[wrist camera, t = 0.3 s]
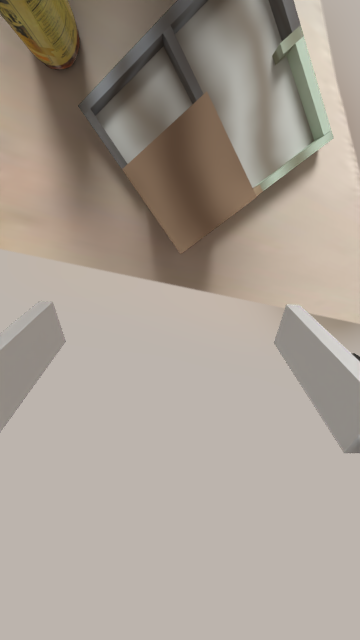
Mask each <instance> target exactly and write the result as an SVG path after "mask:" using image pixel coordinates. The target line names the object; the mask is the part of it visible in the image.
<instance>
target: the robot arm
mask: <svg viewBox="0 0 360 640" xmlns="http://www.w3.org/2000/svg"><path fill="white" fill-rule="evenodd" d="M65 342H66V341H65V338H64V335H63V332H62V328H61V326H60V323H59V320H58V316H57V313H56V310H55V307H54V304H53V302H38V303H37V304H36V305H34V306H33V307H32V308H30V309H29V310H28V311H27V312H26V313H24V314H23V315H22V316H21V317H20V318H18V319H17V320H16V321H15V322H14V323H12V324H11V325H10V326H9V327H7V328H6V329H5V330H4V331H3V332H1V333H0V432H1V430H2V429H3V428H4V426H5V425H6V424H7V422H8V421H9V419H10V418H11V417H12V415H13V414H14V413H15V411H16V410H17V408H18V407H19V406H20V404H21V403H22V402H23V400H24V399H25V397H26V396H27V394H28V393H29V392H30V390H31V389H32V388H33V386H34V385H35V383H36V382H37V380H38V379H39V378H40V376H41V375H42V374H43V372H44V371H45V370H46V368H47V367H48V365H49V364H50V363H51V361H52V360H53V358H54V357H55V355H56V354H57V353H58V352H59V350H60V349H61V347H62V346H63V345H64V343H65ZM274 344H275V345H276V347H277V348H278V350H279V352H280V353H281V355H282V356H283V358H284V360H285V361H286V363H287V364H288V366H289V367H290V369H291V371H292V372H293V374H294V375H295V377H296V378H297V380H298V381H299V383H300V385H301V386H302V388H303V389H304V391H305V393H306V394H307V396H308V397H309V399H310V400H311V402H312V403H313V405H314V407H315V408H316V410H317V411H318V413H319V414H320V416H321V418H322V419H323V421H324V422H325V424H326V425H327V427H328V429H329V430H330V432H331V433H332V435H333V437H334V438H335V440H336V441H337V443H338V444H339V446H340V447H341V449H342V450H343V452H344V453H360V357H359V356H358V355H356V354H354V353H353V354H352V353H350V352H349V351H348V350H347V349H346V348H345V347H344V346H343V345H342V344H341V343H340V342H339V341H337V340H336V339H335V338H334V337H333V336H332V335H331V334H330V333H329V332H328V331H327V330H326V329H325V328H324V327H322V325H320V324H319V323H318V322H317V321H316V320H315V319H314V318H313V317H312V316H311V315H310V314H309V313H308V312H307V311H306V310H304V309H303V308H302V307H301V306H300V305H286V307H285V310H284V314H283V317H282V320H281V323H280V326H279V329H278V332H277V335H276V338H275V341H274Z"/></svg>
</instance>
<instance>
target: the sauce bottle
mask: <svg viewBox="0 0 360 640" xmlns="http://www.w3.org/2000/svg"><path fill="white" fill-rule="evenodd" d="M0 14H1V15H2V17H3V18H4V19H5V20H6V22H7V23H8V24H9V25H10V26H11V28H12V29H13V30H14V31H15V32H16V34H17V35H18V36H19V37H20V39H21V40H22V41H23V42H24V44H25V45H26V46H27V47H28V49H29V50H30V51H31V52H32V53H33V54H34V55H35V56H36V57H37V58H38V59H39V60H41V61H42V62H43V63H45V64H46V65H47V66H48V67H50V68H52V69H58V70H59V69H65V68H68V67H70V66H71V65H72V64H73V62H74V61H75V59H76V57H77V54H78V50H79V45H80V42H79V35H78V30H77V26H76V23H75V19H74V15H73V13H72V10H71V7H70V5H69V3H68V1H67V0H0Z"/></svg>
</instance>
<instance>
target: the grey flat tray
mask: <svg viewBox="0 0 360 640" xmlns="http://www.w3.org/2000/svg"><path fill="white" fill-rule="evenodd" d="M303 36H304V35H303V32H302V28H301V25H300V21H299V18H298V15H297V11H296V8H295V4H294V1H293V0H177V1H176V2H175V3H174V4H173V5H172V6H171V8H170V9H169V10H168V11H167V12H166V13H165V14H164V15H163V16H162V17H161V18H160V19H159V20H158V21H157V22H156V23H155V25H154V26H153V27H152V28H151V29H150V30H149V31H148V32H147V33H146V34H145V35H144V36H143V37H142V38H141V39H140V40H139V42H138V43H137V44H136V45H135V46H134V47H133V48H132V49H131V50H130V51H129V52H128V53H127V54H126V55H125V56H124V57H123V58H122V60H121V61H120V62H119V63H118V64H117V65H116V66H115V67H114V68H113V69H112V70H111V71H110V72H109V73H108V74H107V75H106V77H105V78H104V79H103V80H102V81H101V82H100V83H99V84H98V85H97V86H96V87H95V88H94V89H93V90H92V91H91V92H90V94H89V95H88V96H87V97H86V98H85V99H84V100H83V101H82V102H81V103H80V104H79V105H78V107H79V108H80V109H81V111H82V112H83V114H84V115H85V117H86V118H87V120H88V121H89V122H90V124H91V125H92V127H93V128H94V130H95V131H96V133H97V134H98V135H99V137H100V138H101V140H102V141H103V143H104V144H105V146H106V147H107V148H108V150H109V151H110V153H111V154H112V156H113V157H114V159H115V160H116V161H117V163H118V164H119V166H120V167H121V169H123V168H124V167H125V166H126V165H127V164H128V163H129V162H130V161H132V160H133V159H134V158H135V157H136V156H137V155H138V154H139V153H140V152H141V151H142V150H144V149H145V148H146V147H147V146H148V145H149V144H150V143H151V142H152V141H153V140H154V139H156V138H157V137H158V136H159V135H160V134H161V133H162V132H163V131H164V130H165V129H166V128H167V127H169V126H170V125H171V124H172V123H173V122H174V121H175V120H176V119H177V118H178V117H179V116H181V115H182V114H183V113H184V112H185V111H186V110H187V109H188V108H189V107H190V106H191V105H193V104H194V103H195V102H196V101H197V100H198V99H199V98H200V97H201V96H202V95H203V94H205V93H206V92H207V93H208V95H209V97H210V99H211V101H212V103H213V105H214V107H215V110H216V112H217V114H218V116H219V118H220V120H221V122H222V124H223V126H224V129H225V131H226V133H227V135H228V137H229V139H230V141H231V143H232V146H233V148H234V150H235V152H236V154H237V156H238V158H239V160H240V162H241V165H242V167H243V169H244V171H245V173H246V175H247V177H248V179H249V182H250V184H251V186H252V188H253V190H254V192H255V194H256V196H257V195H259V194H260V193H261V192H263V191H264V190H265V189H267V188H268V187H269V186H271V185H272V184H273V183H275V182H276V181H277V180H279V179H280V178H281V177H283V176H284V175H285V174H287V173H288V172H289V171H291V170H292V169H293V168H295V167H296V166H297V165H299V164H300V163H301V162H303V161H304V160H305V159H307V158H308V157H309V156H311V155H312V154H313V153H315V152H316V151H317V150H319V149H320V148H321V147H323V146H324V145H325V144H327V143H328V142H329V141H331V140H332V139H333V134H332V131H329V132H328V133H327V134H325V135H324V136H322V137H320V138H318V139H316V140H315V141H314V138H313V135H312V132H311V129H310V126H309V123H308V120H307V117H306V114H305V111H304V108H303V105H302V102H301V99H300V96H299V92H298V89H297V86H296V83H295V80H294V77H293V74H292V71H291V68H290V65H289V62H288V59H287V54H288V53H289V52H290V50H291V49H292V47H293V46H294V45H295V43H297V42H298V41H299V40H300V39H301V38H302V37H303Z"/></svg>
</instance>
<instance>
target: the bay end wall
mask: <svg viewBox="0 0 360 640" xmlns="http://www.w3.org/2000/svg"><path fill="white" fill-rule="evenodd" d="M287 59H288V62H289V65H290V68H291V71H292V74H293V77H294V80H295V83H296V86H297V89H298V92H299V96H300V99H301V102H302V105H303V108H304V111H305V114H306V117H307V120H308V123H309V126H310V129H311V132H312V135H313V138H314V141H315V140H316V139H318V138H320V137H322V136H324V135H325V134H327V133H328V132H329V131H330V130H331V128H330V124H329V121H328V118H327V114H326V111H325V107H324V104H323V101H322V97H321V94H320V90H319V87H318V83H317V80H316V77H315V73H314V70H313V66H312V63H311V60H310V56H309V53H308V49H307V46H306V42H305V39H304V36H303V37H302V38H301V39H300V40H299V41H298V42H297V43H295V45H294V46H293V47H292V49H291V50H290V52H289V53H288V54H287Z"/></svg>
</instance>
